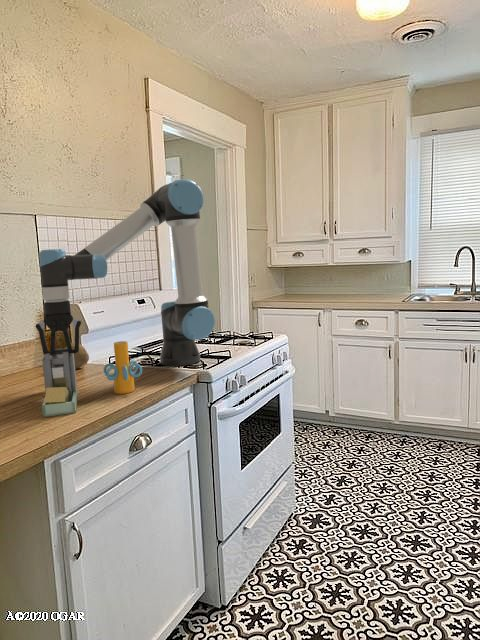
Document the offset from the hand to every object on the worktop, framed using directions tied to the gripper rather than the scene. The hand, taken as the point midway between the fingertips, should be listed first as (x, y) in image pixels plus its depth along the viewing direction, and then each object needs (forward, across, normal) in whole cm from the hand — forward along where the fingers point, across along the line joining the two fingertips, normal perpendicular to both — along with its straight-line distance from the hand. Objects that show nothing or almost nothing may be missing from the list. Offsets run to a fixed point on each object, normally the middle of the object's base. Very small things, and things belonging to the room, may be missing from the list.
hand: (63, 376), depth 152 cm
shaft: (-2, 0, +7) cm, 7 cm away
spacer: (+2, 0, +21) cm, 21 cm away
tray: (+5, 0, +20) cm, 21 cm away
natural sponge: (+5, -2, -32) cm, 32 cm away
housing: (+5, 0, +14) cm, 14 cm away
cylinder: (+5, -17, +10) cm, 21 cm away
